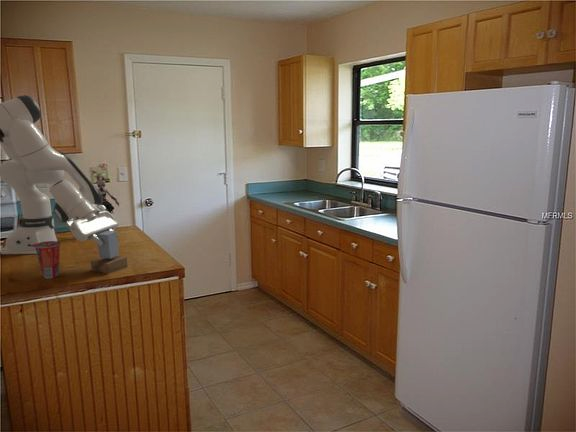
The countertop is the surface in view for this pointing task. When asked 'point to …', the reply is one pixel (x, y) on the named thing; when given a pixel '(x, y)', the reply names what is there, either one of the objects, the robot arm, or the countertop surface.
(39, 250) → the cup
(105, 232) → the blue block
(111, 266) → the walnut block
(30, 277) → the countertop surface
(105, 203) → the figurine
